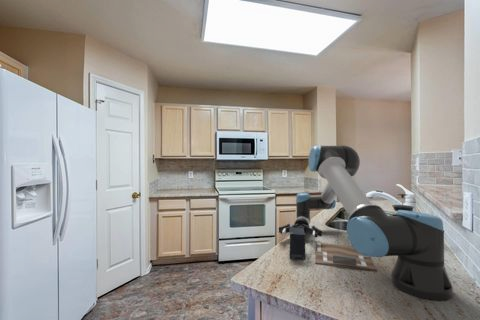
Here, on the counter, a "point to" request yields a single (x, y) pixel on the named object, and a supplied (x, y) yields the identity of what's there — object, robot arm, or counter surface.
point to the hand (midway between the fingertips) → (298, 236)
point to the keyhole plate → (342, 257)
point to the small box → (297, 243)
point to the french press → (402, 206)
